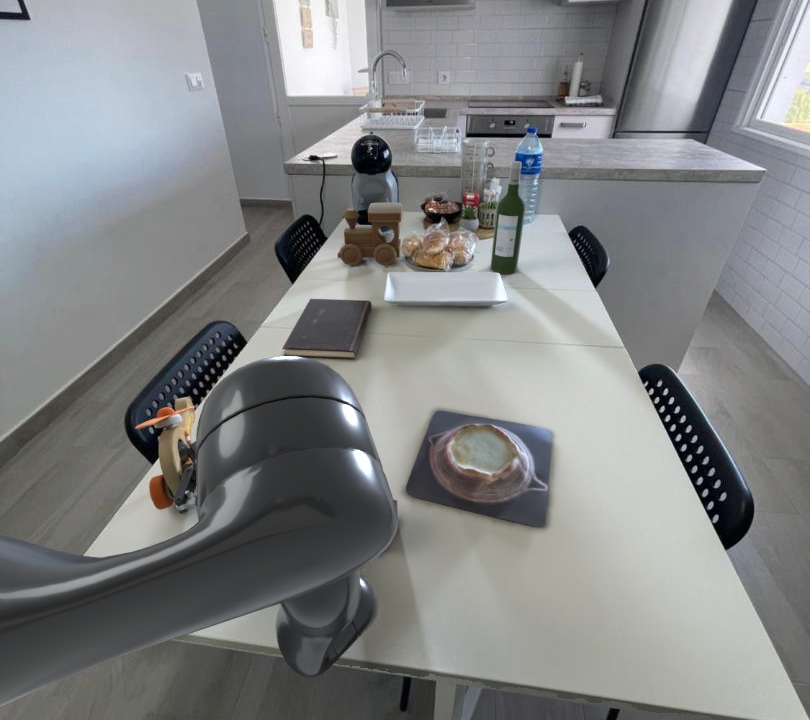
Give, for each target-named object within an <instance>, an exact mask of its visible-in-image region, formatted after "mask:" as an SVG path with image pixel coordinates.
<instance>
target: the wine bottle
mask: <svg viewBox="0 0 810 720" xmlns="http://www.w3.org/2000/svg"><path fill="white" fill-rule="evenodd" d="M522 165H523V164H522V161H518V160H512V161H511V162H510V172H509V177H508V184H507V191H506V193H505V194H504V195H503V196H502V197H501V198H500V199H499V200H498V202H497V204H496V208H495V219H494V227H493V229H494V230H493V240H492V247H491V248H492V249H491V258H490V269H491V271H492V272H494V273H499V274H500V275H501V274H502V275H509V274H514V273H516V271H517V270H518V264H519V258H520V251H521V244H522V236H523V229H524V223H525V215H526V208H527V206H526V202H525V200H524V199H523V197H522V196H521V195H520V181H521V171H522Z"/></svg>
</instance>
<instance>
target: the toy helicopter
mask: <svg viewBox="0 0 810 720" xmlns="http://www.w3.org/2000/svg"><path fill="white" fill-rule="evenodd" d="M195 408H196V407H195V405H194V404H193V401H192V400H191V399H190V397H188V396H185V397H180V398H176V399H175V401H174V409H173V408H172V407H169V406H165V407H162V408H160V409H159V410H158V411H157V413H156V417H155V418H152V419H149V420H147V421H144V422H142V423H140V424H138V425H136V426H135V427H134V430H140V429H144V428H147V427H150V426H154V429H161V428H164V429H162V432H161V433H160V436H159V439H158V440H159V441H158V460H159V466H160V469H161V473H162V474H159V475H155V476H153V477H151V478H150V480H149V484H148V485H149V486H148V490H149V497H150V499H151V501H152V503H153V505H154V507H155V508H156V509H157V510H161V511H162V510H164V509H168V508H171V507H173V506H174V504H175V503H174V501H173V499H174V496H175V493H176V491H177V488H178V485H179V483H180V480H181V478H182V475H183V472H184V470H185V468H187V467H189V466H193V465H194V463H193V462H192V461H191V459H190V457H189V455H188V453H187V449H189V448H190V447H189V444H191V443H192V432H193V424H194V423H195V422H196V410H195Z"/></svg>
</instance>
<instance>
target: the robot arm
mask: <svg viewBox="0 0 810 720" xmlns="http://www.w3.org/2000/svg"><path fill="white" fill-rule="evenodd" d="M189 447H190V448H189V449H187V453H188V455H189V457H190V459H191V461H192V462H193V463H194V465H193V466H189V467H187V468H185V470H184V472H183V475H182V478H181V480H180V483H179V485H178V488H177V491H176V493H175V496H174V499H173V501H174V503H173V504H174V505H175V507H176V510H177V511H178V513H179V514H181V515H183V514H186V513H187V512H189V510H191V509H192V510H193V509H197V510H196V511H197V512H196V513H197V518H198V521H197V522H196V523H195V524H194V525H193V526H191V527H190V528H189V529H187V530H186V531H183V532H182V533H179V534H177V535H175V536H172V537H171V538H169V539H165V540H163V541H161V542H158V543H155V544H153V545H150V546H147V547H142V548H140V549H137V550H136V549H135V550H133V551H128V552H123V553H118V554H113V555H108V556H103V557H101V556H100V557H99V556H89V555H81V554H74V553H70V552H65V551H61V550H56V549H53V548H50V547H46V546H42V545H40V544H36V543H32V542H28V541H25V540H21V539H18V538H14V537H11V536H7V535H2V534H0V707H2V706H5V705H7V704H10V703H12V702H14V701H16V700H18V699H21V698H24V697H25V696H28V695H30V694H32V693H35V692H38V691H40V690H42V689H44V688H47V687H49V686H52V685H54V684H56V683H58V682H59V683H60V682H61V681H64V680H66V679H68V678H71V677H73V676H77V675H78V674H80V673H81V674H82V673H83V672H85V671H88V670H91V669H93V668H96V667H98V666H102V665H105V664H107V663H109V662H111V661H114V660H117V659H121V658H123V657H125V656H128V655H131V654H135V653H137V652H140V651H144V650H146V649H148V648H151V647H154V646H158V645H160V644H163V643H166V642H169V641H172V640H175V639H178V638H181V637H184V636H187V635H190V634H193V633H197V632H198V631H202V630H205V629H208V628H211V627H214V626H217V625H220V624H223V623H226V622H230V621H232V620H235V619H238V618H242V617H244V616H247V615H250V614H253V613H257V612H260V611H262V610H265V609H268V608H271V607H274V606H277V605H279V608H278V611H277V614H276V618H275V637H276V641H277V645H278V649H279V651H280V654H281V655H282V658H283V659H284V661H285V662H286V664H287V665H288V666H289V668H290V669H291V670H293V671H294V672H295V673H297V674H298V675H300V676H302V677H305V678H316V677H318V676H321V675H323V674H324V673H326V672H327V671H328V670H330V668H331V667H332V666H333V665H334V664H335V663H336V662H337V661H338V660H339V659H340V658H341V657H342V656H343V655H345V653H346V652H347V651H348V650H349V649H350V648H351V647H352V646H353V645H354V644H355V643H356V642H357V641H358V640H359V638H361V637H362V636H363V635H364V634H365V633H366V632H367V631H368V630H369V628H371V626H372V625H373V624H374V623H375V621H376V619H377V617H378V613H379V601H378V597H377V593H376V591H375V588H374V587H373V586H372V584H371V583H370V582H369V580H368V579H367V578H366V577H365V576H364V575H363V574H361V569H363V568H365V567H366V566H368V565H369V564H371V563H373V561H374V560H375V559H377V558H378V557H379V556H380V555H382V554H383V552H385V551H386V550H387V549H388V548H389V546H390V545H391V543H392V541H393V540H394V538H395V536H396V534H397V531H398V529H399V515H398V516H397V511H396V507H395V503H394V500H395V499H394V497H393V494H392V490H391V487H390V485H389V481H388V479H387V476H386V473H385V471H384V468H383V464H382V461H381V458H380V455H379V453H378V450H377V447H376V443H375V441H374V438H373V435H372V432H371V429H370V426H369V423H368V421H367V418H366V415H365V413H364V410H363V407H362V405H361V403H360V401H359V399H358V398H357V395H356V394H355V392H354V391H353V388H352V387H351V386H350V384H349V383H348V382H347V381H346V380H345V378H344V377H343V376H342V375H341V374H340V373H339V372H338V371H336V370H335V369H333V368H331V367H330V366H329V365H327V364H325V363H323V362H321V361H318V360H316V359H312V358H308V357H292V356H284V355H283V356H274V357H267V358H262V359H259V360H255V361H251V362H250V363H248V364H247V363H246V364H245V365H243V366H241V367H238V368H237V369H235V370H234V371H232V372H231V373H229V374H228V375H226V376H225V377H223V378H222V379H221V380H220V381H219V382H218V383H217V384H216V385H215V386H214V387H213V388H212V390H211V392H210V393H209V394H208V396H207V398H206V399H205V401H204V403H203V405H202V409H201V412H200V415H199V417H198V421H197V426H196V436H195V441H193V442H191V444H189ZM195 491H196V495H195ZM393 499H394V500H393Z"/></svg>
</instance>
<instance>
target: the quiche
mask: <svg viewBox="0 0 810 720" xmlns="http://www.w3.org/2000/svg"><path fill="white" fill-rule="evenodd" d="M551 446H552V431H551V430H550V429H548V428H544V427H540V426H536V425H530V424H525V423H519V422H515V421H508V420H502V419H496V418H489V417H483V416H475V415H468V414H464V413H459V412H452V411H448V410H436V411H434V413H433V415H432V418H431V420H430V422H429V425H428V427H427V430H426V432H425V435H424V437H423V440H422V442H421V445H420V448H419V450H418V453H417V456H416V458H415V461H414V463H413V465H412V469H411V471H410V474H409V477H408V479H407V482H406V485H405V486H406V487H405V492H406V494H407V495H409V497H412V498H413V497H414V498H417V499H421V500H425V501H428V502H432V503H436V504H440V505H445V506H448V507H452V508H456V509H460V510H464V511H468V512H473V513H477V514H481V515H485V516H489V517H494V518H498V519H502V520H507V521H511V522H515V523H520V524H523V525H528V526H533V527H538V528H539V527H540V528H541V527H544V526H545V525H546V522H547V510H548V509H547V508H548V492H549V478H550V477H549V476H550V463H551V449H552V447H551Z"/></svg>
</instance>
